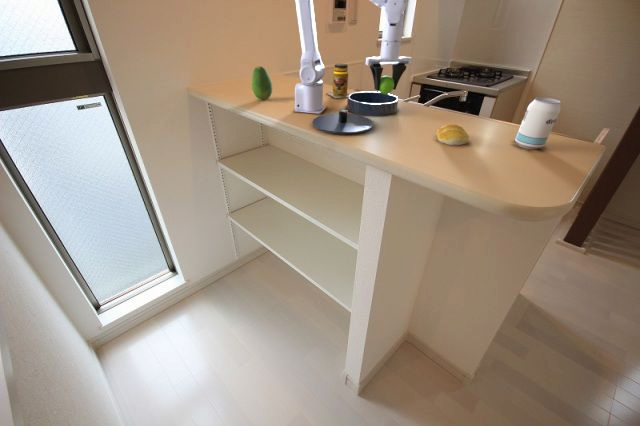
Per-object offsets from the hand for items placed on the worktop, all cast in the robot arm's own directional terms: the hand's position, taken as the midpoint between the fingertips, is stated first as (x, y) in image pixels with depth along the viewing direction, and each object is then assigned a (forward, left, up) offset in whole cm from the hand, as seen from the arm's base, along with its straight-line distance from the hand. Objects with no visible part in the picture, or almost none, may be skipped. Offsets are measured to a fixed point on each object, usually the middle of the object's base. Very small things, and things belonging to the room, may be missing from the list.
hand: (385, 89), depth 97 cm
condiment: (-21, +25, -9) cm, 34 cm away
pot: (-5, +9, -9) cm, 13 cm away
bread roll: (+21, -16, -9) cm, 28 cm away
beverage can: (+41, -14, -9) cm, 45 cm away
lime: (0, 0, +1) cm, 1 cm away
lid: (-11, -13, -8) cm, 19 cm away
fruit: (-48, +8, -9) cm, 49 cm away
